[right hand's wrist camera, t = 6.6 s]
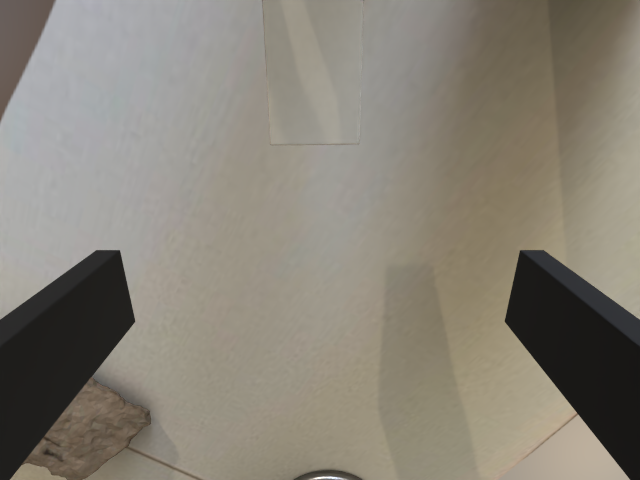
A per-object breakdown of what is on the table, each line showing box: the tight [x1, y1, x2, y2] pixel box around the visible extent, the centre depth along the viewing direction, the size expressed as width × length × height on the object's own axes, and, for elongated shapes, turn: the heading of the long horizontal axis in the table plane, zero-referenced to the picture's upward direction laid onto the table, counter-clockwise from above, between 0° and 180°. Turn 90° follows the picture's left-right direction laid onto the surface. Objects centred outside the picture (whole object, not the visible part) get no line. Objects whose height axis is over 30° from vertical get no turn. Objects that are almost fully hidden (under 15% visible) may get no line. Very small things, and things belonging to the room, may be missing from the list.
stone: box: [22, 377, 151, 480], centre depth 47 cm, size 21×15×6 cm
